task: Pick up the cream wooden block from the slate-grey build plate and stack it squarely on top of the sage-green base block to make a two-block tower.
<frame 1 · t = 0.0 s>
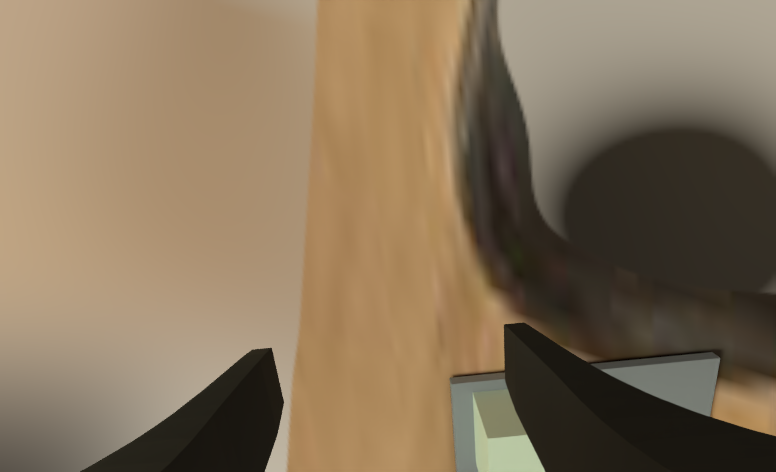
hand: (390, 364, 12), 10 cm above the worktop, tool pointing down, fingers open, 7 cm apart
base block: (518, 424, 24), point 1 cm above the worktop, touching build plate
build plate: (575, 460, 26), on the worktop
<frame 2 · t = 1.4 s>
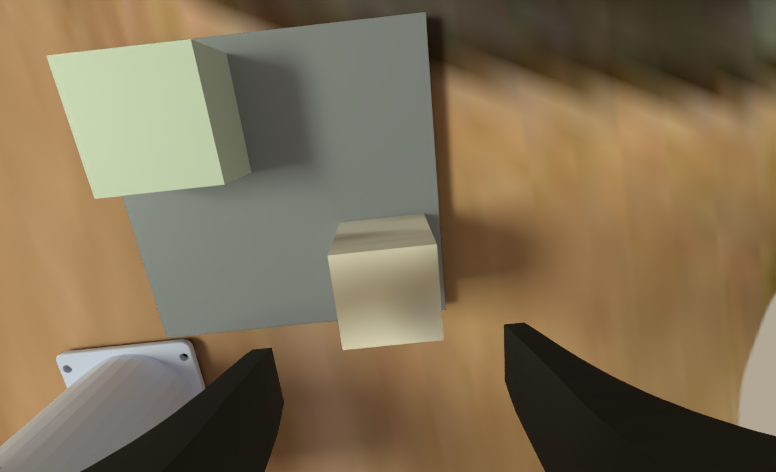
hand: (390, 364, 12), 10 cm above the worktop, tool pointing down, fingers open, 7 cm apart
cream block: (386, 257, 21), point 1 cm above the worktop, touching build plate
base block: (183, 121, 19), point 1 cm above the worktop, touching build plate
build plate: (283, 192, 20), on the worktop
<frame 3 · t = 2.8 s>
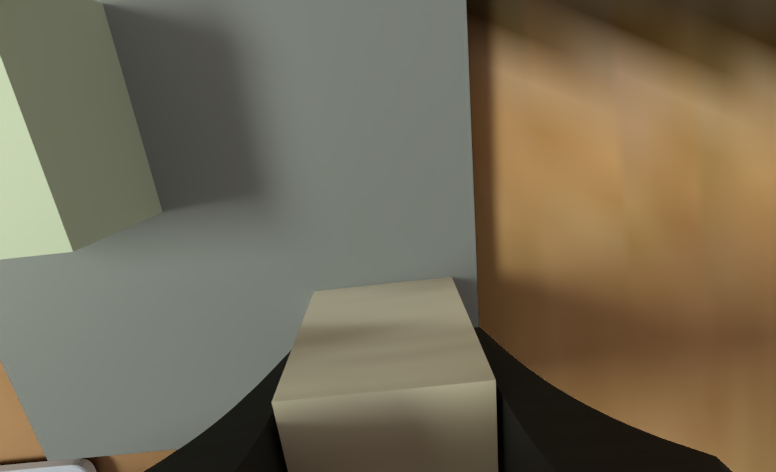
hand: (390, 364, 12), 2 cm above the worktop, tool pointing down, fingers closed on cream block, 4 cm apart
cream block: (389, 344, 13), point 1 cm above the worktop, touching build plate, gripper
base block: (37, 126, 11), point 1 cm above the worktop, touching build plate
build plate: (221, 241, 12), on the worktop
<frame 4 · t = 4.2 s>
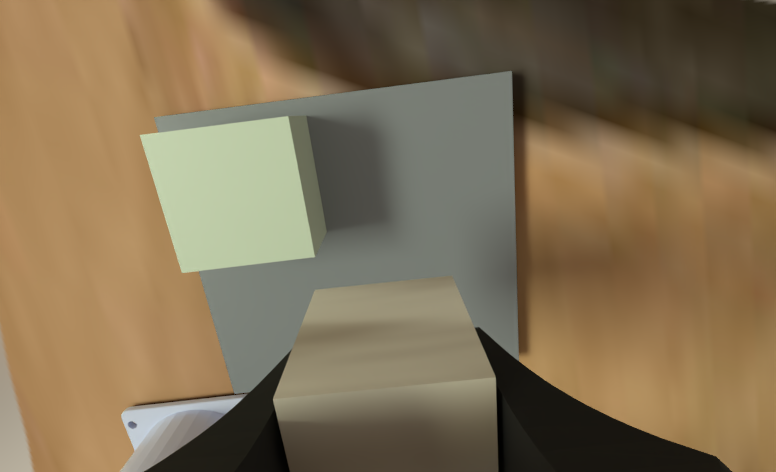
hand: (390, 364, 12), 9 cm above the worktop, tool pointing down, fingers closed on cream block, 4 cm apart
cream block: (390, 342, 13), point 8 cm above the worktop, touching gripper
base block: (259, 183, 18), point 1 cm above the worktop, touching build plate
build plate: (356, 248, 20), on the worktop
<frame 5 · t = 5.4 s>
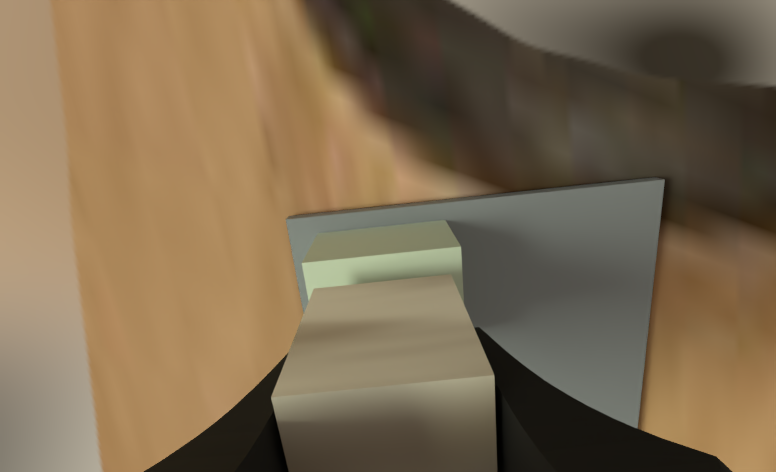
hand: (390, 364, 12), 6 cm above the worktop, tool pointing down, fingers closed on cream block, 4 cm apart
cream block: (389, 341, 13), point 5 cm above the worktop, touching gripper
base block: (387, 285, 17), point 1 cm above the worktop, touching build plate
build plate: (476, 345, 19), on the worktop
when the fingers open (6 cm above the worktop, at t = 6.0 s): cream block drops 1 cm, resting on base block.
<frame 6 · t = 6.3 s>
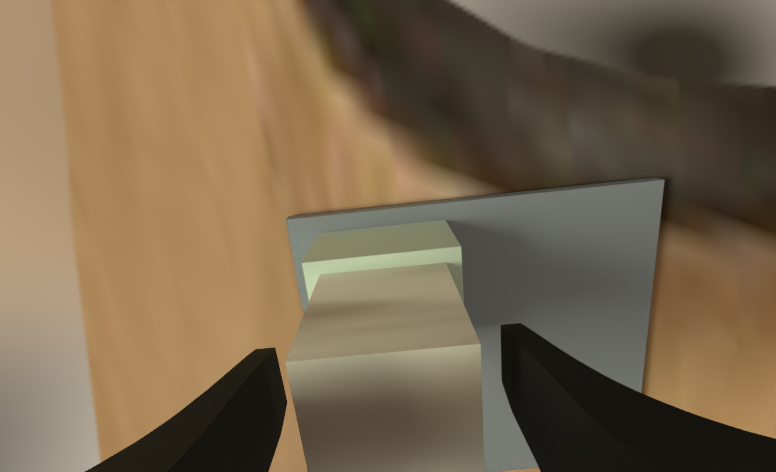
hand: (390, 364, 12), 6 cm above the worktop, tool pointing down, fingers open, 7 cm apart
cream block: (388, 324, 14), point 4 cm above the worktop, touching base block
base block: (388, 284, 17), point 1 cm above the worktop, touching build plate, cream block
build plate: (476, 345, 19), on the worktop
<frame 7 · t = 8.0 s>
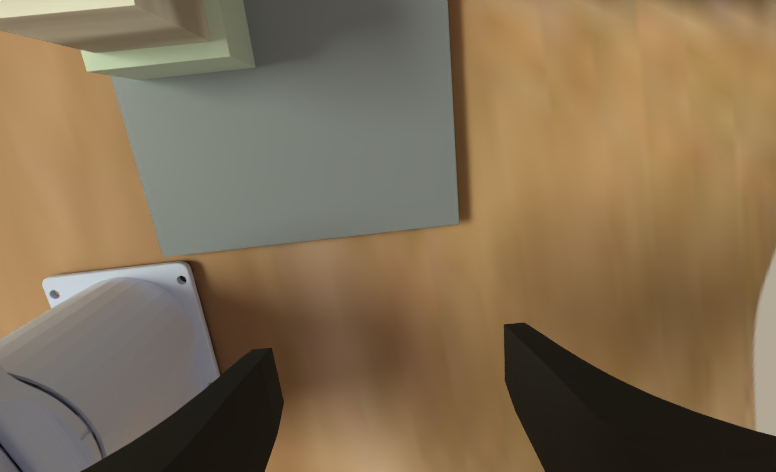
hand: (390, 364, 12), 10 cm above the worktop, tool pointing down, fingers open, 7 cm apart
base block: (182, 8, 17), point 1 cm above the worktop, touching build plate, cream block
build plate: (289, 93, 19), on the worktop
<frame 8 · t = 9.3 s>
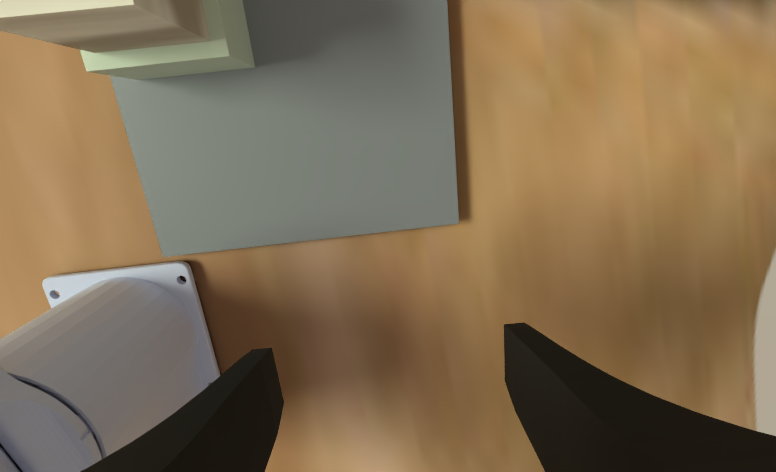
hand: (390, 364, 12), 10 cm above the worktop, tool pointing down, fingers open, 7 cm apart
base block: (181, 8, 17), point 1 cm above the worktop, touching build plate, cream block
build plate: (288, 93, 19), on the worktop
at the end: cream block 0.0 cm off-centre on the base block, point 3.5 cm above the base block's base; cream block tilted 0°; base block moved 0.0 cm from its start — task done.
